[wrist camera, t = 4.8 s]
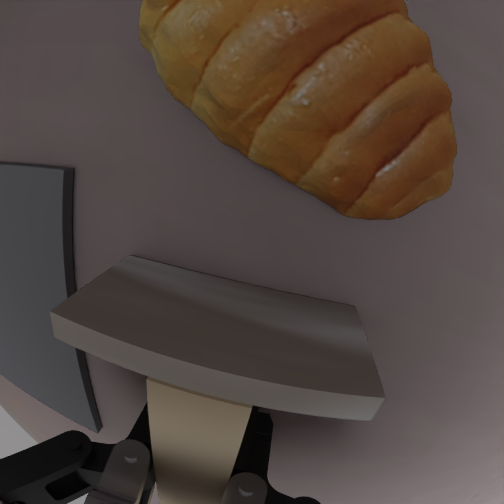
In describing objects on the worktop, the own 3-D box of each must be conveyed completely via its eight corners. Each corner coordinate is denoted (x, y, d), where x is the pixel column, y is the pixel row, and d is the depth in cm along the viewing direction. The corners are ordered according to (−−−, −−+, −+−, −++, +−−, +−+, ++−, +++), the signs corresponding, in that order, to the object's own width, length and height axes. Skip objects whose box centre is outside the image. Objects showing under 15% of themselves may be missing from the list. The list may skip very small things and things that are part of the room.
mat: (0, 366, 15) (-4, 370, 15) (-36, 160, 10) (-43, 162, 10) (102, 426, 14) (98, 433, 14) (73, 168, 9) (63, 169, 9)
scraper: (279, 469, 13) (271, 537, 9) (138, 433, 14) (107, 492, 9) (354, 306, 10) (386, 401, 5) (129, 255, 10) (47, 313, 6)
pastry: (473, 140, 7) (546, 143, 4) (327, 260, 10) (343, 323, 6) (287, -54, 6) (280, -120, 2) (142, 57, 8) (73, 25, 5)
